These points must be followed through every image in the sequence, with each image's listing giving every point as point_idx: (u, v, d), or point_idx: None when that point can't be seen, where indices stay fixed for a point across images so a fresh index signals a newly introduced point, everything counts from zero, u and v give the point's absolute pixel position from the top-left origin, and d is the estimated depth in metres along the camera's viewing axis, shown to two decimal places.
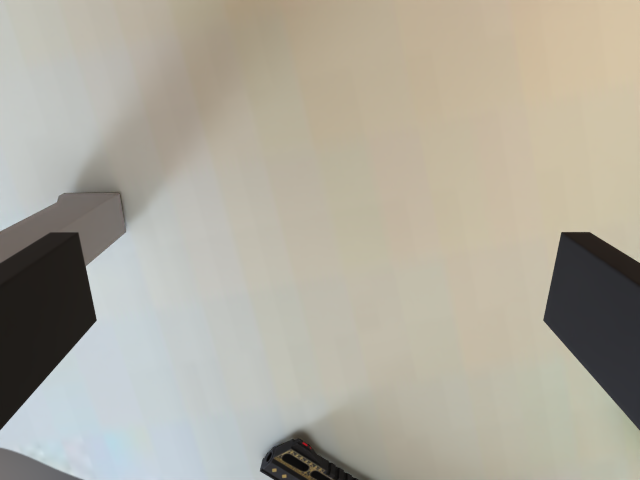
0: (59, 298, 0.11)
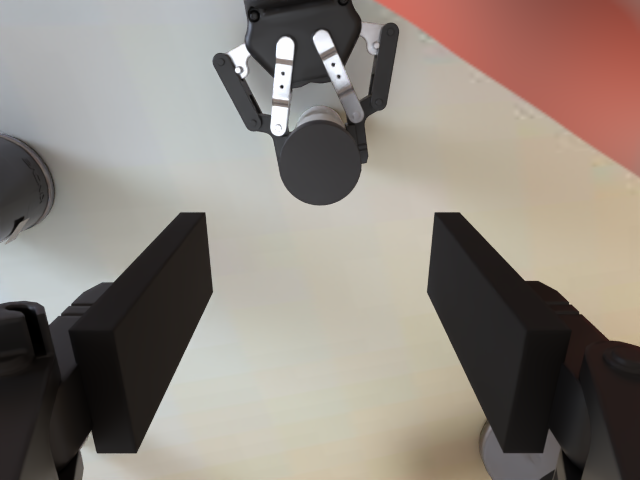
0: (197, 268, 0.13)
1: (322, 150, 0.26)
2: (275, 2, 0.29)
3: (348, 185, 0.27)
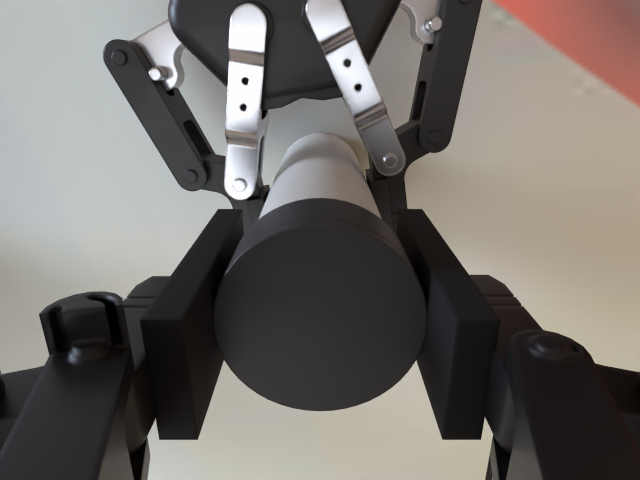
0: None
1: (326, 290, 0.10)
2: None
3: (392, 369, 0.11)
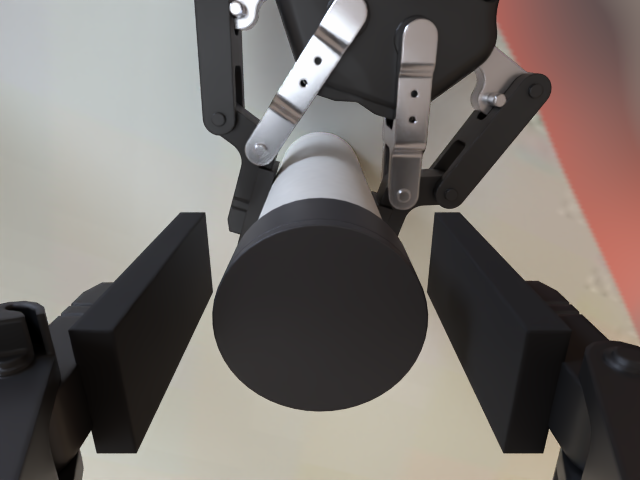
0: (197, 268, 0.13)
1: (299, 294, 0.10)
2: None
3: (412, 322, 0.10)
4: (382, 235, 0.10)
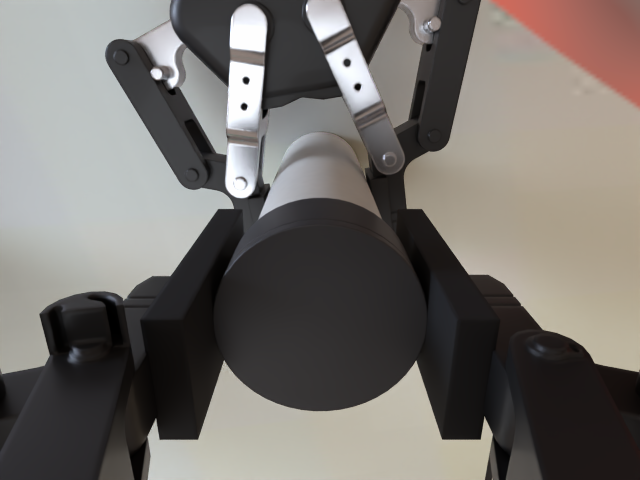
0: None
1: (285, 306, 0.10)
2: None
3: (402, 285, 0.10)
4: (334, 217, 0.10)
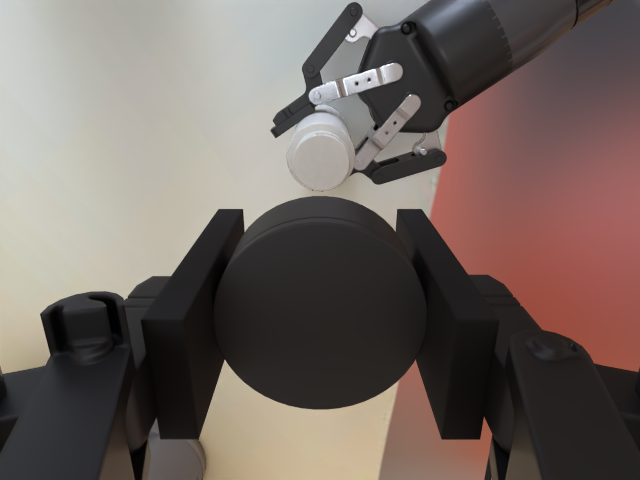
0: None
1: (285, 304, 0.10)
2: (429, 47, 0.30)
3: (402, 283, 0.10)
4: (334, 216, 0.10)
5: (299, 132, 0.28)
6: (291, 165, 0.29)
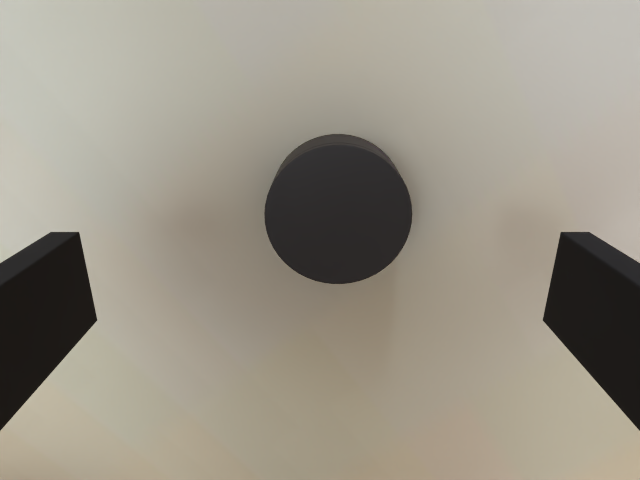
0: (60, 298, 0.11)
1: (314, 203, 0.15)
2: None
3: (394, 189, 0.14)
4: (348, 142, 0.14)
5: None
6: None
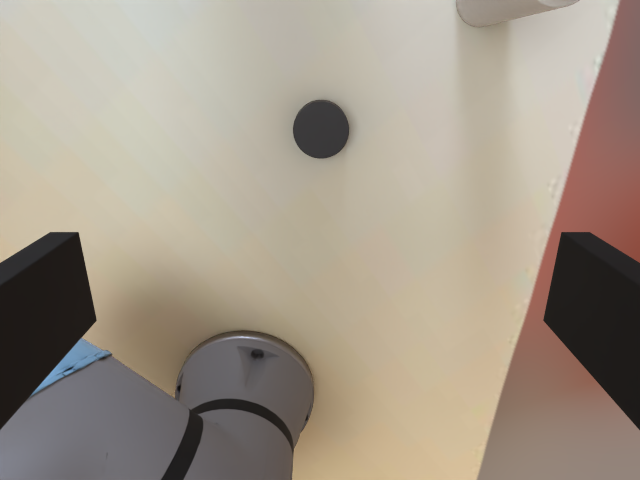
0: (59, 298, 0.11)
1: (312, 124, 0.39)
2: None
3: (341, 118, 0.39)
4: (324, 101, 0.39)
5: None
6: None
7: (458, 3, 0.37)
